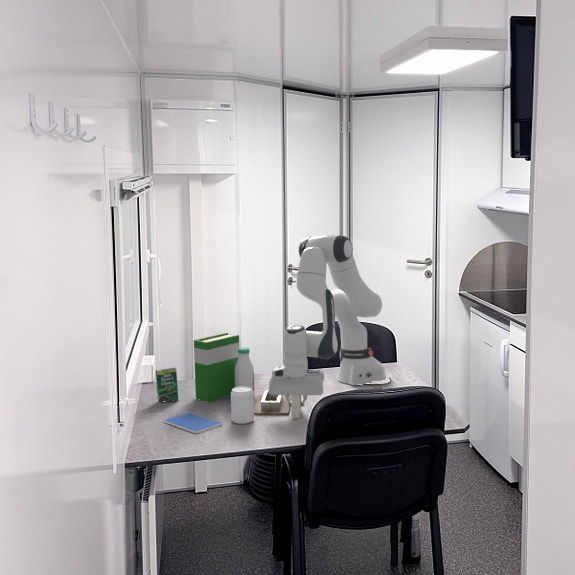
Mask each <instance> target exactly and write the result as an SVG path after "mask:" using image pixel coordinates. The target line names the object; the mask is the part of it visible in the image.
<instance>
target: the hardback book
mask: <svg viewBox="0 0 575 575" xmlns="http://www.w3.org/2000/svg"><path fill="white" fill-rule="evenodd" d="M238 348H241V346H240V335H239V334H234V335H230V334H229V332H223V333H219V334H215V335H210V336H206V337H201V338H197V339H193V359H194V361H193V362H194V382H195V384H194V385H195V399H196V398H197V399H196V400H198V399H200V400H199V401H202V400H203V401H202V402H205V401H206V402H205V403H211V402H214V401H218V400H221V399H223V398H227V397H231V392H232V389H233V388H235V365H236V363H237V360H238V357H239V354H238Z"/></svg>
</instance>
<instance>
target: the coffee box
mask: <svg viewBox="0 0 575 575" xmlns="http://www.w3.org/2000/svg"><path fill="white" fill-rule="evenodd" d="M177 374H178V373H177V369H176V367H170V368H162V369H155V380H156V393H157V395H156V396H157V397H156V398H157V402H158V401H159V402H163V401H171V402H176V401H175V400H178V401H179V390H178V375H177ZM173 400H174V401H173ZM159 402H158V403H159Z"/></svg>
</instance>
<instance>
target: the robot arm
mask: <svg viewBox="0 0 575 575" xmlns="http://www.w3.org/2000/svg"><path fill="white" fill-rule="evenodd" d="M298 255H299V262H298V263H299V264H298V268H297V275H296V288H297V290H298V292H299V293H300V295H301V296H303V297H304V298H305V299H307V300H309V301H312V302H314V303H315V304H318V305H319V306H320V308H321V311H322V312H321V313H322V314H321V315H322V326H323V327H322V328H323V329H322V331H314V330H306V328H305V327H304V326H303V325H302V324H293V325H289V326H287V327H285V330H284V334H283V346H282V347H283V348H282V349H283V350H282V351H283V354H284V358H283V364H279V365H277V366H274V367H273V368H272V370H271V376H270V378H269V385H268V391H269V393H270V395H285V398H286V400H287V402H288V406H289V407H290V408H291V401H290V399H289V395H301V396H302V398H303V399H302V400H301V402H300V407H301V408H302V407H303V408H305V402H306V401H307V398H308V396H322V395H323V394H324V383H323V382H324V380H325V373H324V371H321V370H320V369H309V368H308V367H309V365H308V358H307V357H311V358H319V359H322V360H323V359H324V360H329V359H331V358H332V357H334V356H335V355H336V354H337V352H338V347H339V344H338V337H337V327H336V321H337V324H338V326H339V329H340V343H341V344H340V348H339V360H340V366H339V372H338V376H337V381H338V382H340V383H342V382H343V384H346V383H348V385H350V384H351V385H350V386H352V385H358V384H366V383H372V381H381V380H385V379H386V374H387V373H386V370H385V367H384V365H383V363H382V362H380V361H379V360H378V359H376V358H375V357H374V356H373V355H374V351H373V350H372V348H371V347H368V330H367V328H366V327H365V325H363V324H362V323H361V322H360V320H359V318H375V317H377V316H379V314H380V313H381V311H382V308H383V301H382V298H381V296H380V295H379V294H378V293H375V292H374V291H373V290H372V289H371V288H369V286H368V285H367V284H366V283H365V281H364V280H363V278H362V277H361V275H360V272H359V269H358V267H357V263H356V261H355V257H354V255H353V243H352V241H351V240H350V239H349V237H347V236H345V235H329V234H328V235H327V234H326V235H325V234H324V235H318V236H307V237H305V238H303V239H302V240H301V242H300V243H299V246H298ZM327 266H328V270H329V273H330V276H331V279H332V282H333V284H334V286H335V287H336V288H337V289H332V290H330V289H329V288H328V286H327V282H326V281H327V280H326V279H327ZM358 317H359V318H358Z"/></svg>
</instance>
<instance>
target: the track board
mask: <svg viewBox="0 0 575 575" xmlns="http://www.w3.org/2000/svg"><path fill="white" fill-rule="evenodd" d="M263 395H264V394H257V395H256V398H255V399H254V416H289V413H290V411H291V410H290V409H291V407H289V406H288V402H287V400H286V398H285V395H283V399H282V403H281V407H280V410H261V400H262V397H263ZM291 396H292V395H289V399H290V401H291ZM267 401H277V399H268V400H267Z"/></svg>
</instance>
